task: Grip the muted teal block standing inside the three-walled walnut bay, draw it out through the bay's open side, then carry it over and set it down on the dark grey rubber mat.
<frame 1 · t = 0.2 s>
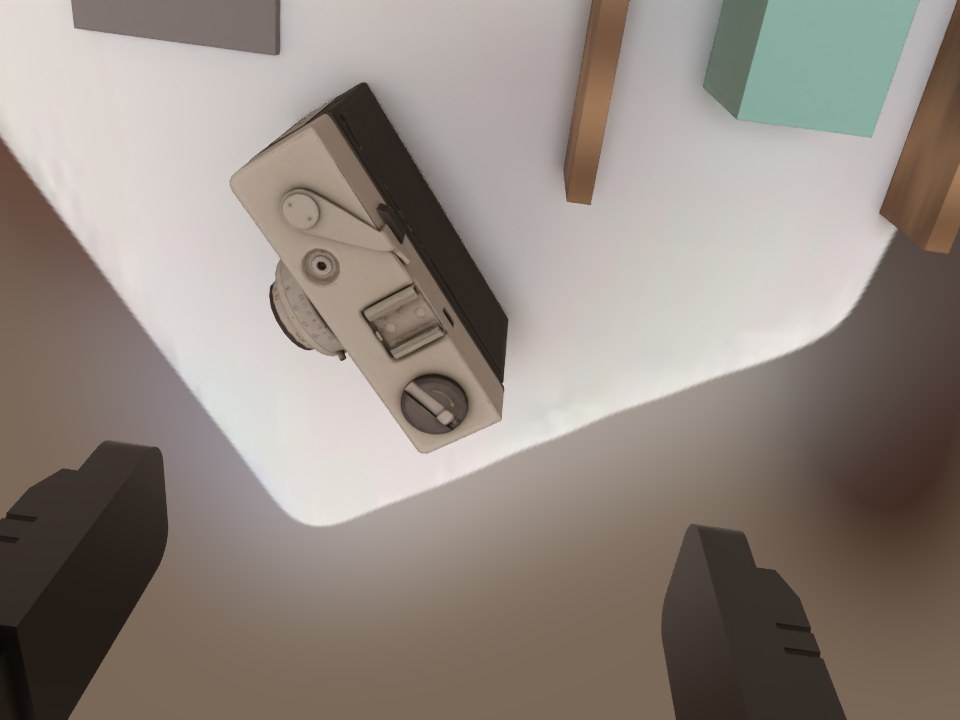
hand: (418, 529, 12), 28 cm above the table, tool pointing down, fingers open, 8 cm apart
bay: (775, 34, 35), on the table
camera: (378, 242, 40), on the table
block: (775, 34, 35), on the table
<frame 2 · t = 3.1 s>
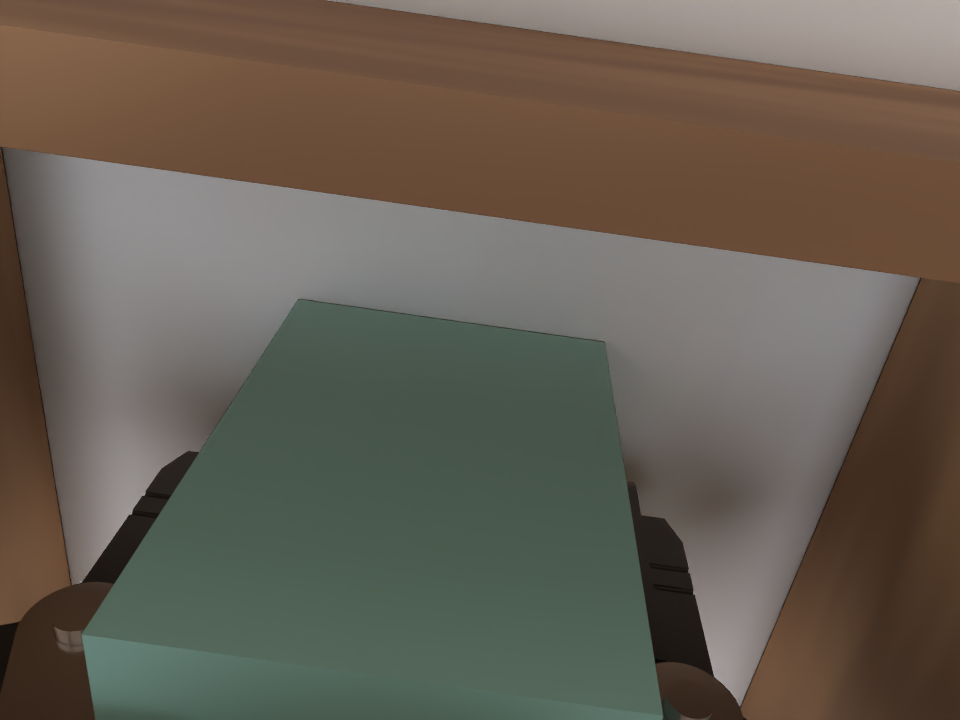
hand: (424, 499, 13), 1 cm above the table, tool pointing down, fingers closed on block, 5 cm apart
bay: (433, 448, 14), on the table
block: (436, 447, 14), on the table, touching gripper
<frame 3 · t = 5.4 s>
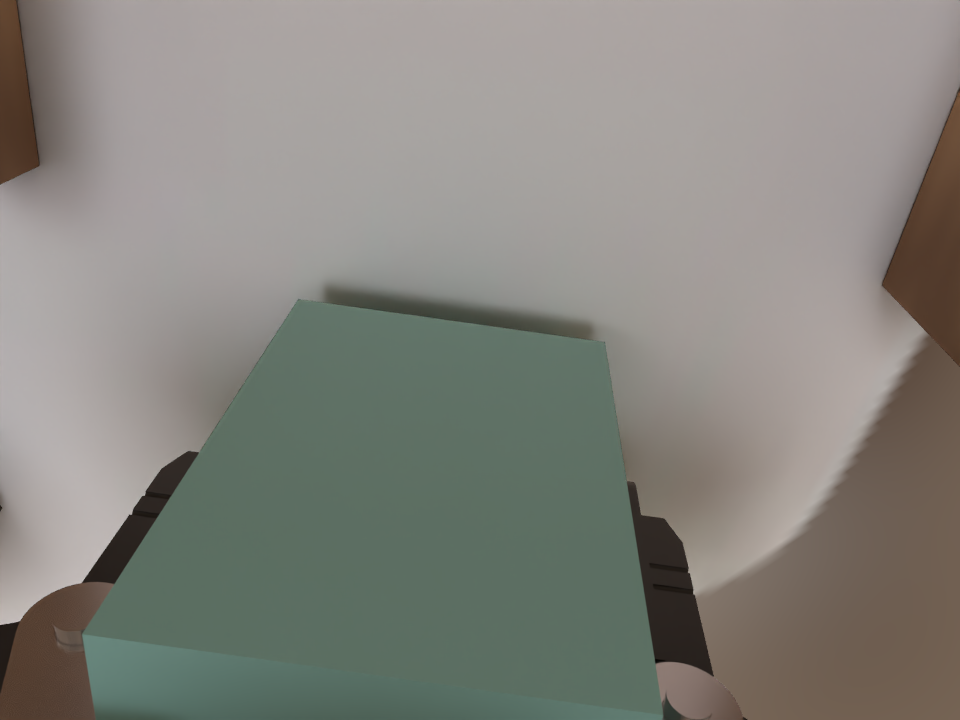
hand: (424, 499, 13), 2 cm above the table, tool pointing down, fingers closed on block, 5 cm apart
block: (436, 447, 14), point 1 cm above the table, touching gripper
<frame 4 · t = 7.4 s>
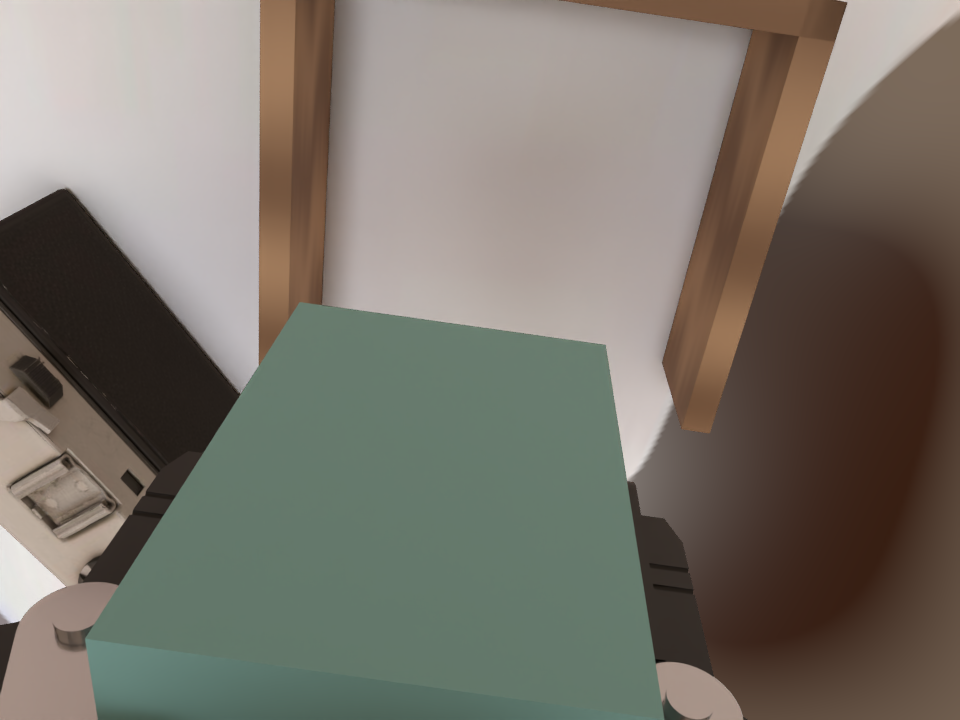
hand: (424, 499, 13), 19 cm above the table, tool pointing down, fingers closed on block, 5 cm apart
bay: (518, 167, 29), on the table
camera: (120, 363, 35), on the table
block: (437, 449, 14), point 18 cm above the table, touching gripper
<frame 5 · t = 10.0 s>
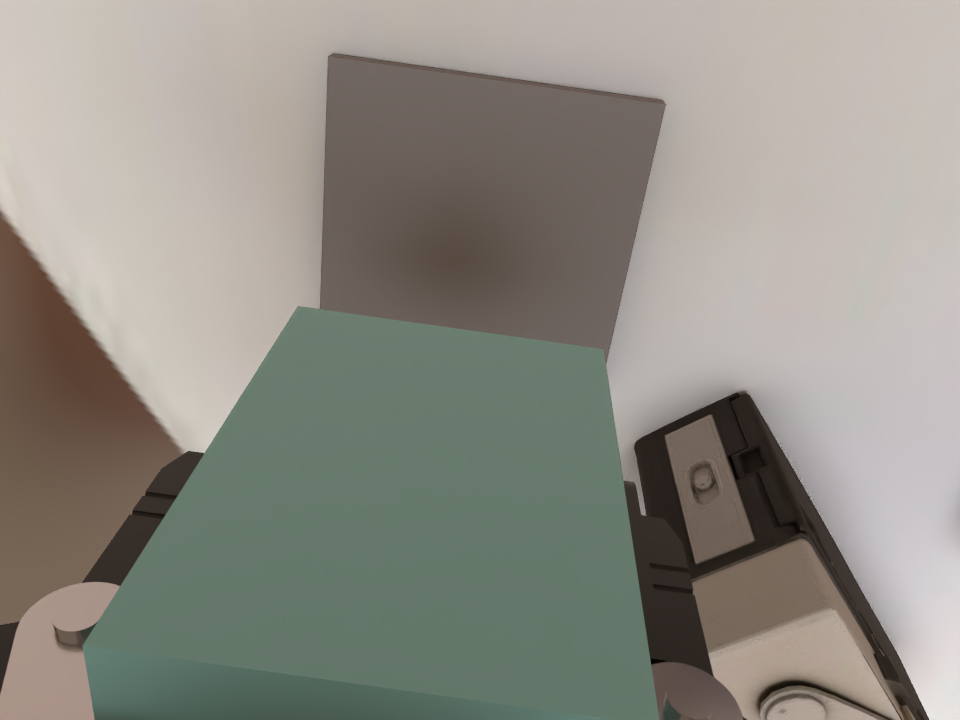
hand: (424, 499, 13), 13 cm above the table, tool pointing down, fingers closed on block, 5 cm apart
mat: (477, 233, 24), on the table
camera: (724, 567, 30), on the table
block: (435, 453, 14), point 11 cm above the table, touching gripper
when the fingers open (3 cm above the table, at t = 12.1 s): block drops 1 cm, resting on mat.
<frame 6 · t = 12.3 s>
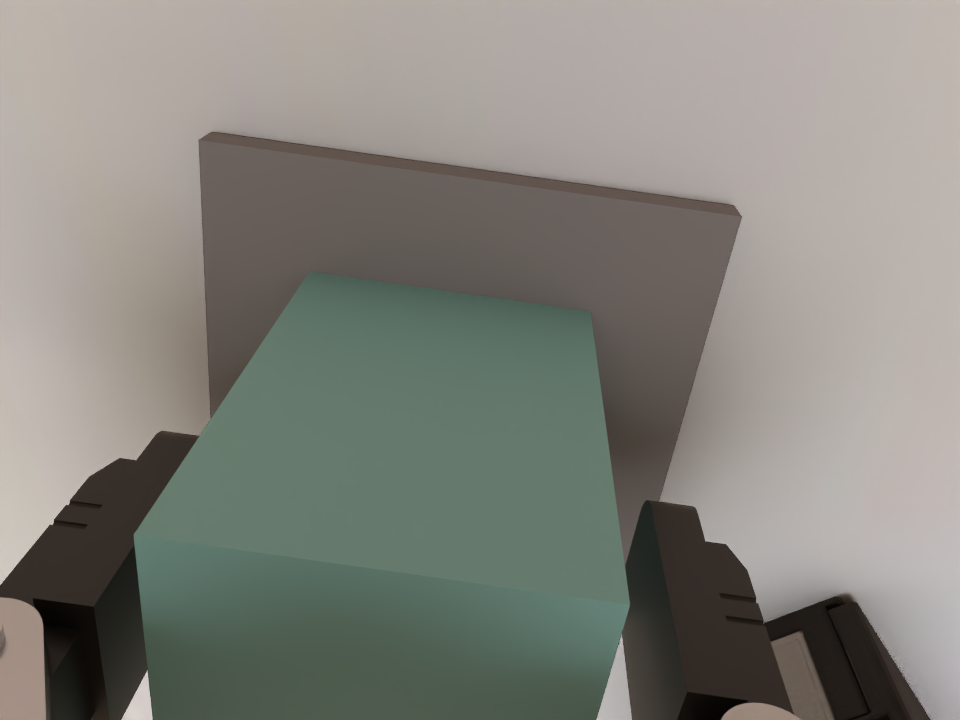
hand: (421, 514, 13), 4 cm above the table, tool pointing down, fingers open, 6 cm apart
mat: (445, 393, 16), on the table
block: (436, 410, 15), point 1 cm above the table, touching mat
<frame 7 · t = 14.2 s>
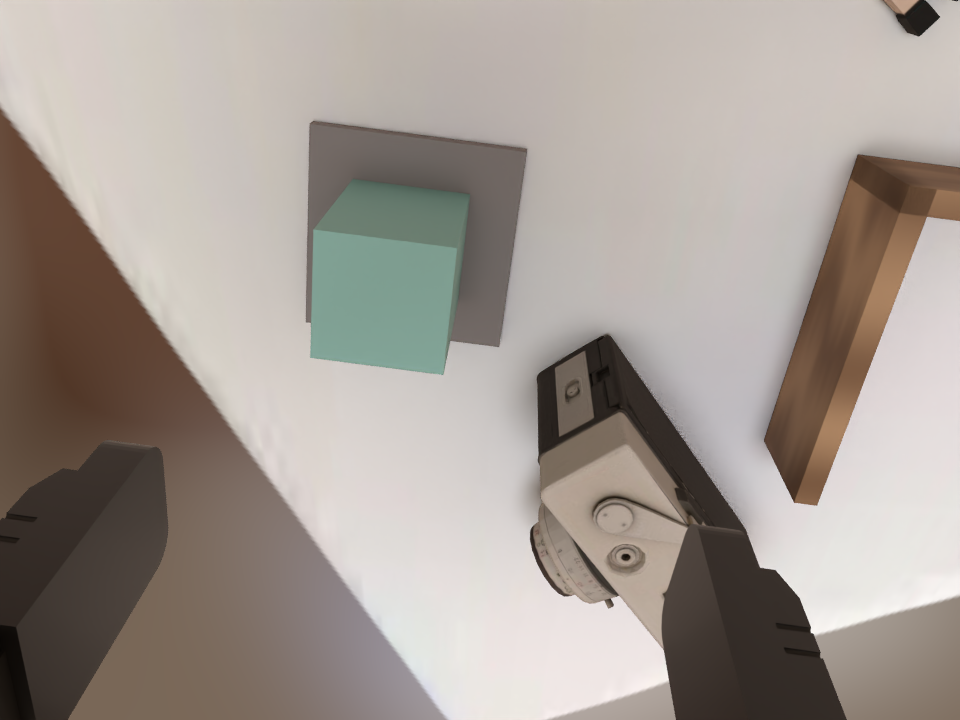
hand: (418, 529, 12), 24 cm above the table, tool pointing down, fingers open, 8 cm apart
mat: (411, 237, 36), on the table
camera: (613, 469, 41), on the table
block: (407, 242, 35), point 1 cm above the table, touching mat
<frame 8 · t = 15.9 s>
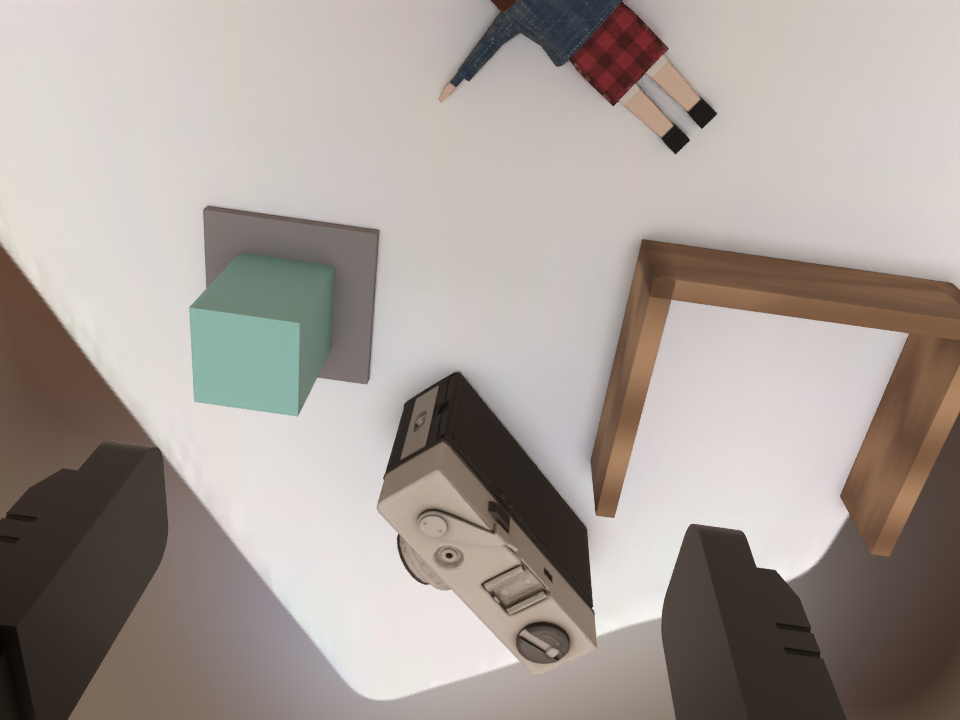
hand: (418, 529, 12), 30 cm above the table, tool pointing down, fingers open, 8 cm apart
toy: (581, 14, 37), on the table
bay: (757, 378, 44), on the table
mat: (292, 296, 44), on the table
camera: (475, 479, 49), on the table
block: (286, 301, 43), point 1 cm above the table, touching mat
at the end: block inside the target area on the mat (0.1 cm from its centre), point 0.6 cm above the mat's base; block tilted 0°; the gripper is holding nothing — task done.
